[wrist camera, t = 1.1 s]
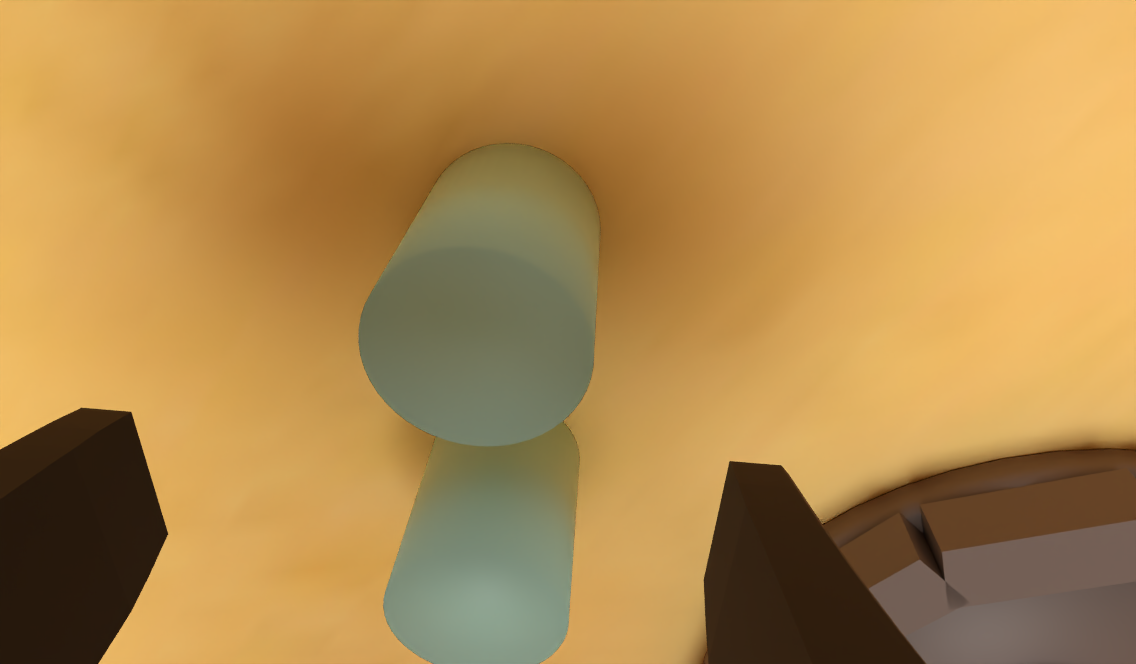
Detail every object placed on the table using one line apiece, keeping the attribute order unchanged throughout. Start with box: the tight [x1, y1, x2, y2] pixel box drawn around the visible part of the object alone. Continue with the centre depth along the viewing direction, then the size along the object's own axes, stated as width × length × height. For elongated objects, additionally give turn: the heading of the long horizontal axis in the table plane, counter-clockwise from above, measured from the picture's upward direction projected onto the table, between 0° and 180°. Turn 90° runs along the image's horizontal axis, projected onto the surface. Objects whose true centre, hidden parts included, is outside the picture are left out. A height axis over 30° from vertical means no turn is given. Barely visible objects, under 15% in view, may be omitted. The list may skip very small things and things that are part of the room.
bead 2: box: [383, 421, 580, 664], centre depth 18 cm, size 4×4×5 cm
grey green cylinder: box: [359, 143, 601, 446], centre depth 14 cm, size 4×4×5 cm
